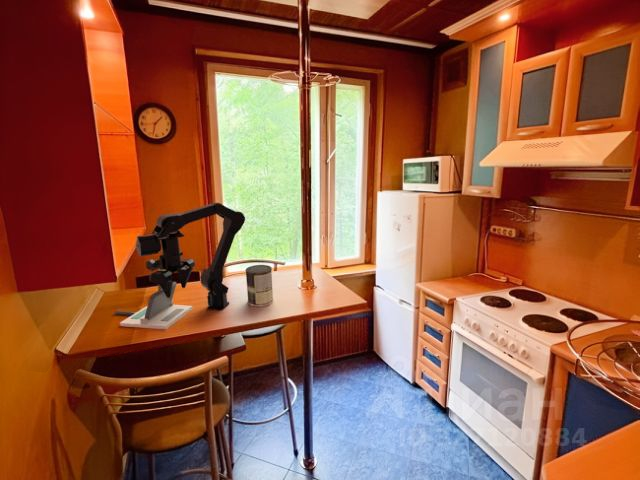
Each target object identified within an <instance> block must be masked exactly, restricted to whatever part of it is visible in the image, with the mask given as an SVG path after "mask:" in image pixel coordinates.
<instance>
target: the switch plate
mask: <svg viewBox="0 0 640 480" xmlns="http://www.w3.org/2000/svg"><path fill="white" fill-rule="evenodd" d="M147 306H148V305H146V306H145V307H143V308H141V309H140V310H138V311H136V312H135V311H126V310H125V311H123V310H115V311H114V315H122V316H123V315H125V316H128V317H127V318H125V319H124V320H122V321H120V322H119V325H120V327H129V328H131V327H133V328H142V329H157V330H168V329H169V328H170V327H172V326H173V325H174V324H175V323H177V322H178V321H180V319H182V318H183V317H184V316H186V315H187V314H188V313H190V312H191V311H192V310H193V309H194V307H193V305H182V304H174V301H173V300H172V301H171V305H170V306H168V307H167V308H165V309H164V310H162V311H161V312H159V313H158V314H156V315H155V316H154V317H152V318H151V319H149V320H147V319H145V314H146V310H147Z"/></svg>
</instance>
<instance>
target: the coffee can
mask: <svg viewBox="0 0 640 480" xmlns="http://www.w3.org/2000/svg"><path fill="white" fill-rule="evenodd" d="M272 270H273V269H272V266H270V265H266V264H256V265H251V266H248V267H246V268H245V277H246V290H247V291H246V293H247V304H248V305H250V306H252V307H256V308H257V307H259V308H260V307H266V306H269V305H270V304H272V303H273V302H274V293H273V274H272V272H273V271H272Z"/></svg>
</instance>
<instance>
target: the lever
mask: <svg viewBox="0 0 640 480" xmlns="http://www.w3.org/2000/svg"><path fill="white" fill-rule="evenodd" d="M177 284H178V283H177V282H176V281H173V285H172V292H171V297H170V298H167V296H166V295H165V293H164V291H163V290H162V289H161V290H159V291H158V290H156V291H155V292H154V293H152V294H151V295H150V296H149V299H148V302H147V305H146V306H147V310H146V314H145V319H147V320H149V319H151V318H152V317H154V316H155V315H156V314H158V313H159V312H161V311H162V310H164V309H165V308H167V307H168V306H170V305H171V301H173V298H174V297H173V296H174V294H175V290H176V287H177Z"/></svg>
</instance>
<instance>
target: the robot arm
mask: <svg viewBox="0 0 640 480" xmlns="http://www.w3.org/2000/svg"><path fill="white" fill-rule="evenodd" d="M215 215H217V216H218V217H220V218H221V219H223V222H222V234H221V236H220V239H219V242H218V244H217V247H216V249H215V252H214V256H213V258H212V262H211V264H210V265H209V266H208V267H207V268H205V267H204V268H203V270H202V273H201V275H200V276H199V279H200V284H201V286H203V288H205V289H206V291H208V292H207V297H206V299H207V307H206V308H207V310H218V311H222V310H224V309H225V308H227V307H228V305H229V304H230V302H229V301H228V297H227V294H228V292H229V287H228V286H227V285H225V284H223V280H224V270H223V269H224V267H225V264H226V261H227V259H228V257H229V254H230V251H231V247H232V244H233V242H234V239H235V236H236V235H237V233H239V232H240V230H242V228H243V225H244V224H245V222H246V217H245V214H244V213H243V212H242V211H238V210H234V209H231V208H229V207H227V206H226V205H223V204H222V203H221V202H217V201H215V202H214V201H213V202H211V203H209V204H206V205H203V206H200V207H196V208H193V209H189V210H187V211H184V212H176V213H166V214H161V215H159V216H158V217H157V220H156V225H155V227H154V228H153V230H152V232H151V234H146V235H137V236H136V244H135V248H136V251H137V255H138V257H145V256H151V255H157V254H159V252H161V253H162V254H160V255H159V257H158V259H155V260H154V259H152V258H151V259H149V260H147V261H145V266H146V267H145V268H146V269H147V270H148V271H150V272H152V273H151V274H150V275H149V282H150V283H154V284H156V285H158V284H159V285H160V286H161V288H162V290H163V291H164V293H165V295H166V296H167V298H170V297H171V292H172V285H173V282H174V279H173V274H174V273H177V274H178V277H179V281H180V285H181V288H182V289H185V288H186V286H187V283H188V282H189V278H190V276H191V273H192V272H193V270H194V267H196V264H195V260H193V258H182V256H184V252H183V251H181V248H180V242H179V241H180V240H179V239H180V238H184V237H185V234H183V233H182V232H181V231H180V230H181V229H183V228H184V227H185V226H187V225H188V224H190V223H193V222H197V221H199V220H203V219H206V218H209V217H211V216H215ZM159 269H160V270H164V269H165V270H166V271H157V270H159ZM155 270H156V271H155Z"/></svg>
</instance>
